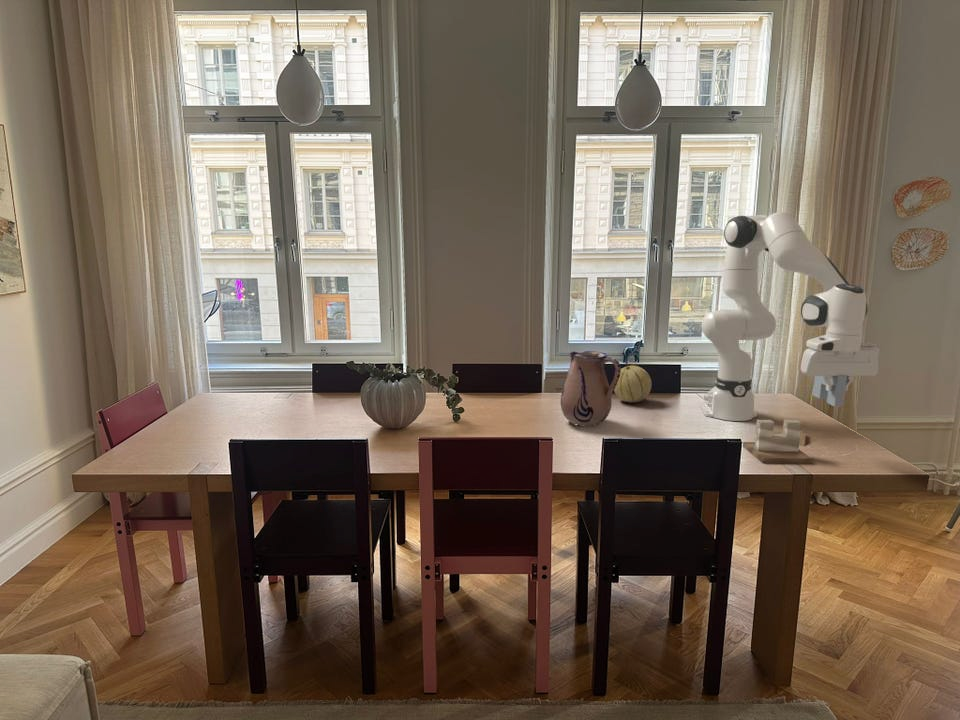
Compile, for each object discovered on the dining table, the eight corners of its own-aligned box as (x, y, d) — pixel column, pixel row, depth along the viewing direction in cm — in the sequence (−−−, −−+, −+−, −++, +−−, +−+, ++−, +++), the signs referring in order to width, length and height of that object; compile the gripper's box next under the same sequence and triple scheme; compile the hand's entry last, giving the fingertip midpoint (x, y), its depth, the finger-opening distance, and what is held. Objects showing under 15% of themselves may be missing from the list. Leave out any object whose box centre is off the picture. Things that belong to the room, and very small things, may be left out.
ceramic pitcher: (570, 413, 225) (572, 347, 220) (626, 421, 215) (630, 352, 210) (552, 426, 211) (553, 355, 206) (611, 435, 200) (614, 361, 195)
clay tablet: (770, 430, 207) (771, 423, 206) (803, 435, 202) (804, 427, 202) (769, 443, 194) (770, 435, 193) (805, 448, 190) (806, 440, 189)
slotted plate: (812, 395, 184) (816, 366, 182) (820, 395, 184) (824, 366, 182) (834, 406, 172) (838, 375, 170) (842, 406, 172) (847, 375, 170)
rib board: (742, 446, 190) (745, 414, 188) (788, 446, 189) (791, 414, 187) (762, 463, 176) (765, 428, 174) (811, 463, 176) (815, 428, 174)
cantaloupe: (656, 401, 242) (659, 364, 239) (639, 409, 231) (641, 370, 228) (623, 395, 251) (624, 359, 248) (605, 402, 240) (606, 365, 237)
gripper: (873, 341, 173) (866, 387, 176) (800, 340, 174) (795, 387, 177) (887, 345, 167) (880, 393, 170) (812, 345, 168) (806, 393, 170)
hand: (836, 390), depth 173 cm, fingers closed on slotted plate, 2 cm apart
